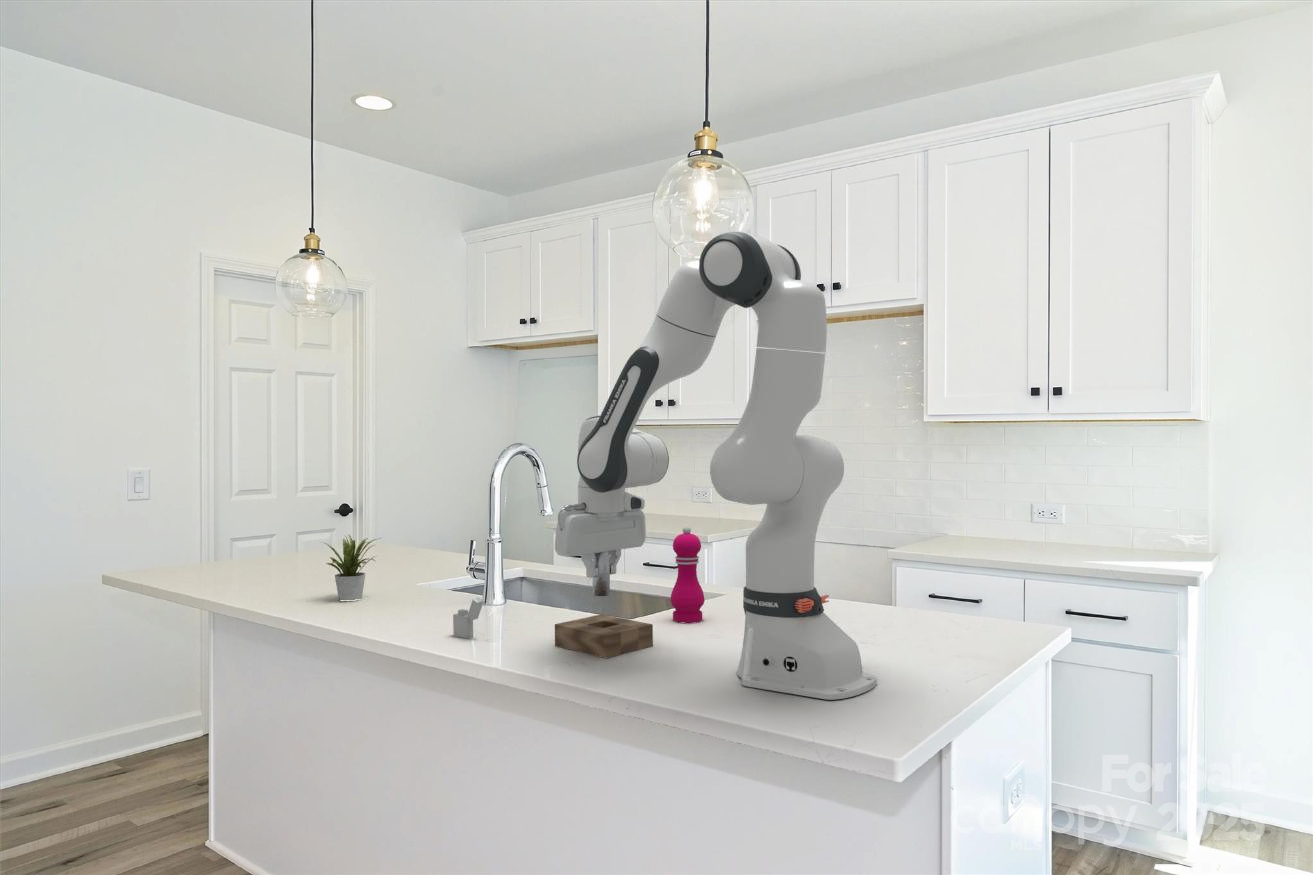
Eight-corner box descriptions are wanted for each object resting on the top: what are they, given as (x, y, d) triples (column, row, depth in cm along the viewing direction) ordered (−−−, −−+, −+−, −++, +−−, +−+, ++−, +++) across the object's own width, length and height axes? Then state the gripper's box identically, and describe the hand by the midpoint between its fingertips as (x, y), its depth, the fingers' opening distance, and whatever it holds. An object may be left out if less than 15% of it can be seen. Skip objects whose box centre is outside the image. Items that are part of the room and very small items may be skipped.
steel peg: (613, 594, 161) (613, 541, 161) (600, 596, 159) (600, 542, 158) (601, 592, 163) (601, 539, 163) (589, 594, 161) (589, 541, 161)
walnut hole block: (652, 645, 160) (652, 624, 160) (605, 658, 151) (605, 635, 151) (602, 634, 170) (601, 614, 170) (554, 645, 161) (554, 624, 161)
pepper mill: (705, 616, 185) (704, 524, 185) (704, 624, 178) (703, 527, 178) (672, 616, 186) (671, 524, 186) (669, 623, 179) (668, 527, 179)
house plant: (398, 598, 211) (397, 531, 211) (351, 607, 199) (350, 537, 199) (359, 592, 218) (359, 528, 218) (312, 602, 207) (311, 534, 207)
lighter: (452, 636, 170) (452, 595, 170) (459, 634, 171) (459, 594, 171) (477, 640, 166) (477, 599, 166) (484, 638, 167) (483, 597, 167)
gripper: (570, 506, 151) (570, 585, 151) (651, 499, 166) (650, 570, 166) (547, 504, 155) (547, 580, 155) (628, 497, 170) (628, 567, 170)
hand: (601, 575), depth 161 cm, fingers closed on steel peg, 3 cm apart
